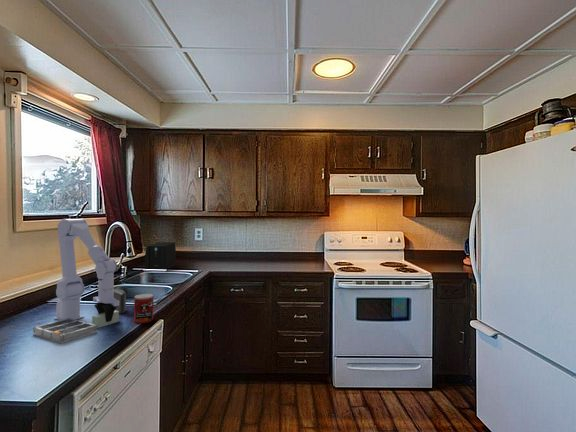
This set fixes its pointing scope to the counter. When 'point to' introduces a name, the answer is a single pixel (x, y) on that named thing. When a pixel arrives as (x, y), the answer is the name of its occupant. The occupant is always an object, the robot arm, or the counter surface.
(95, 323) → the pale green rectangular box
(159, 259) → the uninterruptible power supply
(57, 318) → the robot arm
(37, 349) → the counter surface
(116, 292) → the leaning round-cornered charcoal block
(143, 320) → the canned food
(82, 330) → the rack
